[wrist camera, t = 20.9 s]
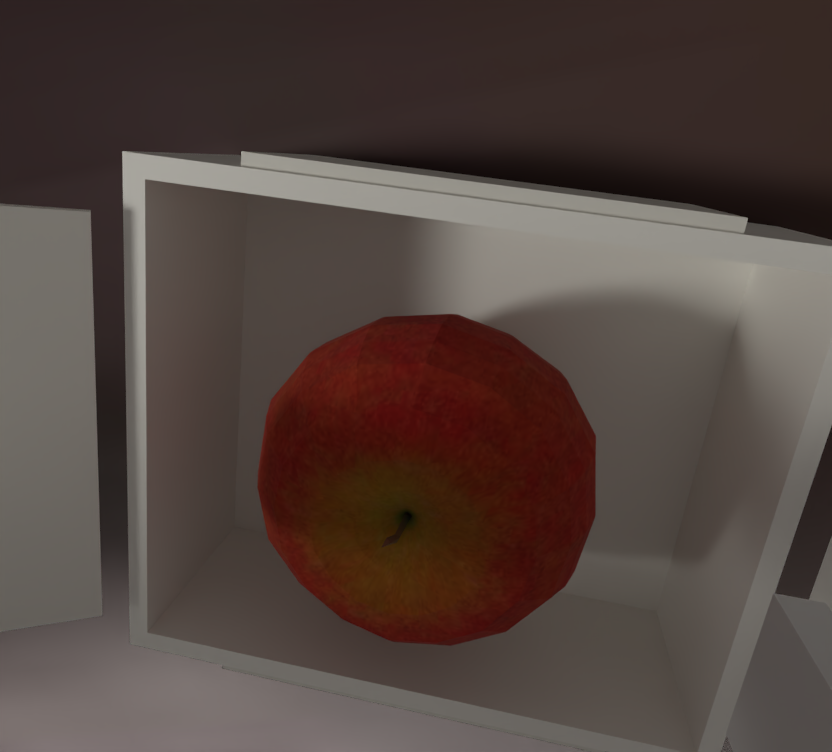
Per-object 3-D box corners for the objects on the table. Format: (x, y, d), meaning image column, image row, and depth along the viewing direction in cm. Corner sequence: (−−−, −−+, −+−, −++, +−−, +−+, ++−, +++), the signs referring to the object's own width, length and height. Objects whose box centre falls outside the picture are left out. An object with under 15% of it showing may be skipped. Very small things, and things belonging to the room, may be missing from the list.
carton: (225, 537, 24) (130, 653, 18) (240, 144, 20) (122, 136, 14) (663, 625, 22) (709, 785, 16) (780, 214, 18) (895, 237, 12)
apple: (290, 347, 21) (130, 457, 14) (521, 227, 18) (472, 287, 11) (410, 553, 22) (322, 750, 15) (642, 471, 19) (669, 667, 12)
